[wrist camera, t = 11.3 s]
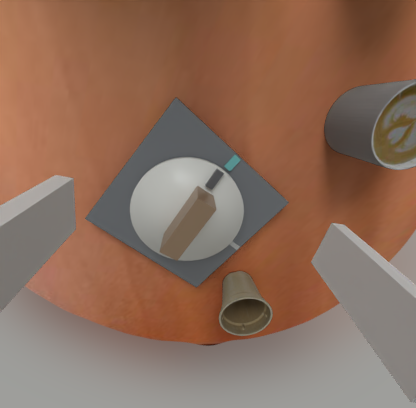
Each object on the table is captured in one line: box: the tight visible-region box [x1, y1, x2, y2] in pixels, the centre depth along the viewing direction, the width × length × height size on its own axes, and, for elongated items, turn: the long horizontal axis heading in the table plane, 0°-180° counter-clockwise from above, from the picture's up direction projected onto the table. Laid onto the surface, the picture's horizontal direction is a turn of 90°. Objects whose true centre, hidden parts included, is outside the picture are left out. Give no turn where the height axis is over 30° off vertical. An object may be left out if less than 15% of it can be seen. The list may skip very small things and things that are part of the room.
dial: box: [130, 157, 244, 261], centre depth 33 cm, size 18×18×6 cm
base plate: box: [85, 98, 289, 287], centre depth 37 cm, size 24×24×2 cm
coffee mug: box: [324, 79, 416, 170], centre depth 29 cm, size 13×10×10 cm
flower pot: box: [219, 271, 273, 336], centre depth 42 cm, size 9×9×9 cm
